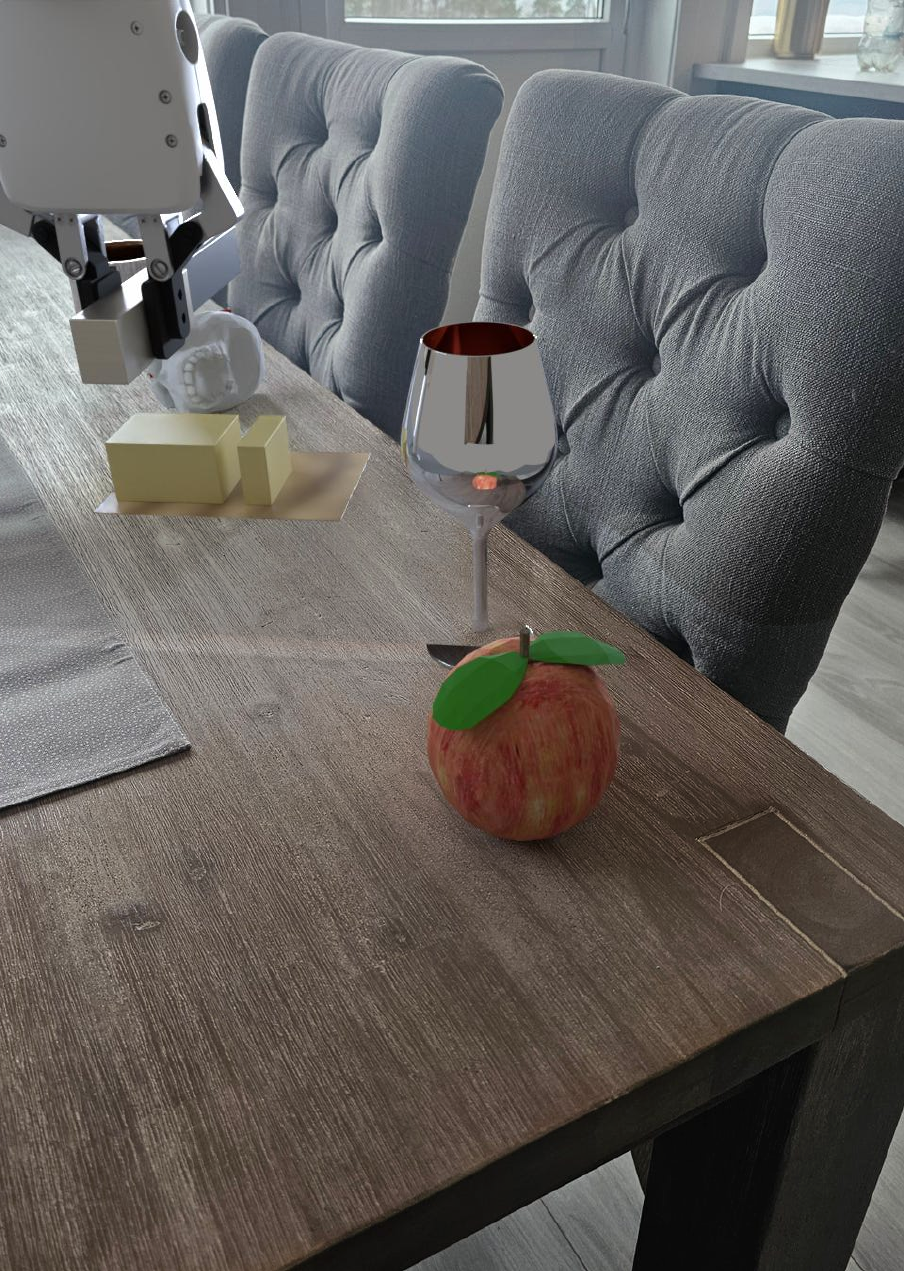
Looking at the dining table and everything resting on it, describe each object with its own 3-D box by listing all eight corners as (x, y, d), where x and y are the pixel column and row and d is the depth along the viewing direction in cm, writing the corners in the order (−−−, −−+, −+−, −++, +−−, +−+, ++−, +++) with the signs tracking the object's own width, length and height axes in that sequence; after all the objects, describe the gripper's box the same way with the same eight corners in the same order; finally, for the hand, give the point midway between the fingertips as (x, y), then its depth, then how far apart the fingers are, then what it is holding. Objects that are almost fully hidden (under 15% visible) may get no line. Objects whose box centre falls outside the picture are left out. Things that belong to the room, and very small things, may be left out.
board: (95, 527, 76) (92, 512, 75) (154, 461, 86) (151, 447, 85) (341, 536, 74) (340, 520, 73) (372, 466, 84) (371, 452, 83)
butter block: (116, 501, 77) (104, 442, 74) (146, 467, 82) (135, 412, 79) (223, 504, 76) (214, 445, 73) (246, 470, 81) (238, 414, 78)
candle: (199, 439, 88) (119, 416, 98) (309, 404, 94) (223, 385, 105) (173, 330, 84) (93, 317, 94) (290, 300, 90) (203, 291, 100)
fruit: (396, 784, 51) (384, 608, 46) (568, 732, 55) (576, 561, 49) (470, 905, 45) (466, 715, 39) (661, 837, 48) (682, 653, 42)
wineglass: (576, 632, 63) (591, 329, 53) (503, 700, 57) (505, 376, 47) (461, 595, 67) (456, 306, 57) (383, 655, 61) (361, 347, 51)
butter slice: (244, 504, 76) (236, 446, 73) (266, 470, 81) (259, 414, 78) (271, 505, 75) (264, 446, 73) (292, 471, 80) (285, 415, 78)
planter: (200, 329, 117) (186, 239, 112) (169, 361, 108) (152, 264, 102) (106, 329, 118) (88, 239, 113) (66, 360, 109) (45, 264, 104)
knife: (128, 385, 52) (115, 320, 50) (81, 384, 52) (67, 319, 50) (255, 273, 70) (249, 222, 69) (220, 272, 71) (213, 222, 69)
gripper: (270, -66, 48) (307, 333, 58) (-58, -59, 50) (32, 327, 60) (219, -69, 42) (270, 378, 52) (-153, -61, 44) (-36, 370, 54)
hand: (142, 348), depth 56 cm, fingers closed on knife, 2 cm apart
